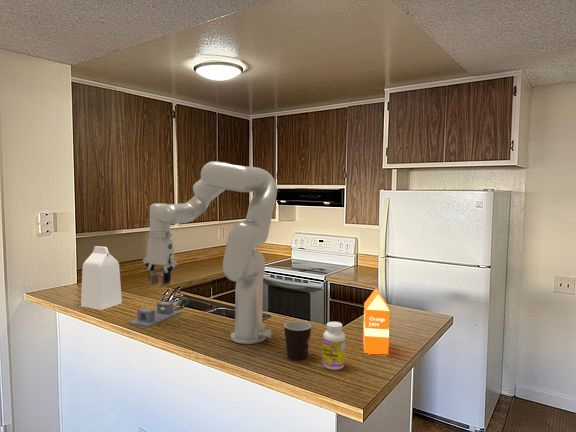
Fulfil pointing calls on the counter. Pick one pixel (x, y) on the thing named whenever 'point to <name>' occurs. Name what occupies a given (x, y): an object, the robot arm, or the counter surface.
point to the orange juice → (376, 324)
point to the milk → (100, 280)
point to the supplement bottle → (333, 346)
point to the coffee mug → (297, 339)
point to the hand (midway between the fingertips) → (159, 280)
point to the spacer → (157, 277)
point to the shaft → (177, 303)
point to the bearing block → (154, 315)
